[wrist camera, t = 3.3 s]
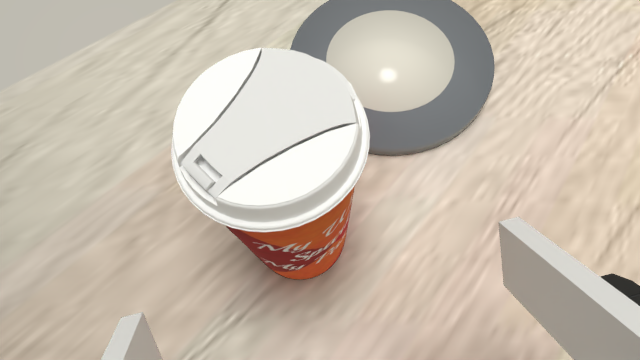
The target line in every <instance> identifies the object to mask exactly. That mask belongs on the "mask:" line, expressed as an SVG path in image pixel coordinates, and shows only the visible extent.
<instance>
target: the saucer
mask: <svg viewBox="0 0 640 360" xmlns="http://www.w3.org/2000/svg"><path fill="white" fill-rule="evenodd" d="M290 50H294V51H298V52H302V53H305V54H308V55H310V56H312V57H314V58H316V59H320V60H322V61H324V62H326V63H328V64H329V65H331V66H332V67H334V68H335V69H336V70H338V71H339V72H340V73H341V74H342V75H343V76H344V77H345V78H346V79H347V81H349V82H350V83H351V84H352V87H353V89H354V91H355V93H356V95H357V97H358V99H359V101H360V102H361V104H362V106H363V108H364V111H365V114H366V117H367V119H368V125H369V132H370V141H369V152H368V153H371V154H377V155H392V156H394V155H408V154H413V153H419V152H423V151H426V150H429V149H432V148H435V147H438V146H440V145H442V144H444V143H446V142H448V141H450V140H451V139H453V138H454V137H456V136H458V135H459V134H460V133H461V132H462V131H464V130H465V129H466V128H467V127H468V126H469V125H470V124H471V123H472V122H473V121H474V119H475V118H476V117H477V115H478V114H479V112H480V111H481V109H482V107H483V105H484V103H485V101H486V99H487V97H488V94H489V92H490V90H491V86H492V82H493V78H494V57H493V53H492V49H491V45H490V43H489V41H488V38H487V36H486V34H485V33H484V31H483V30H482V28H481V26H480V25H479V24H478V23H477V22H476V20H475V19H474V18H473V17H472V16H471V15H470V14H469V13H468V12H467V11H465V10H464V9H463V8H462V7H460V6H459V5H457V4H456V3H454V2H453V1H451V0H329V1H327V2H326V3H324V4H323V5H321V6H320V7H319V8H317V9H316V10H315V11H314V12H313V13H312V14H311V15H310V16H309V17H308V18H307V19H306V20H305V21H304V22H303V24H302V25H301V27H300V28H299V30H298V31H297V34H296V36H295V38H294V40H293V43H292V46H291V49H290Z"/></svg>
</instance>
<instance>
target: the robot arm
mask: <svg viewBox="0 0 640 360" xmlns="http://www.w3.org/2000/svg"><path fill="white" fill-rule="evenodd" d="M499 234H500V246H501V258H502V270H503V282H504V286H505V287H506V288H507V289H508V290H509V291H510V292H511V293H512V294H513V296H514V297H515V298H516V299H517V300H518V301H519V302H520V303H521V304H522V305H523V306H524V307H525V308H526V309H527V310H528V311H529V313H530V314H531V315H532V316H533V317H534V318H535V319H536V320H537V321H538V322H539V323H540V324H541V325H542V326H543V327H544V328H545V330H546V331H547V332H548V333H549V334H550V335H551V336H552V337H553V338H554V339H555V340H556V341H557V342H558V343H559V344H560V345H561V347H562V348H563V349H564V350H565V351H566V352H567V353H568V354H569V355H570V356H571V357H572V358H573V359H574V360H640V286H639V285H637V284H636V283H634V282H633V281H631V280H628V279H626V278H623V277H620V276H618V275H615V274H609V275H605V276H601V277H600V276H598V275H597V274H595V273H594V272H593V271H591V270H590V269H589V268H587V267H586V266H585V265H583V264H582V263H581V262H579V261H578V260H576V259H575V258H574V257H572V256H571V255H570V254H568V253H567V252H566V251H564V250H563V249H562V248H560V247H559V246H557V245H556V244H555V243H553V242H552V241H551V240H549V239H548V238H547V237H545V236H544V235H543V234H541V233H540V232H538V231H537V230H536V229H534V228H533V227H532V226H530V225H529V224H528V223H526V222H525V221H524V220H522V219H521V218H519V217H515V218H511V219H507V220H504V221H500V222H499ZM101 360H163V359H162V357H161V354H160V352H159V350H158V347H157V345H156V342H155V340H154V338H153V335H152V333H151V330H150V328H149V326H148V323H147V321H146V318H145V316H144V314H143V312H141V313H137V314H133V315H129V316H125V317H121V319H120V321H119V323H118V325H117V327H116V329H115V332H114V334H113V336H112V338H111V340H110V342H109V344H108V346H107V348H106V350H105V352H104V354H103V356H102V359H101Z"/></svg>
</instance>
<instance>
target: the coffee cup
mask: <svg viewBox="0 0 640 360" xmlns="http://www.w3.org/2000/svg"><path fill="white" fill-rule="evenodd" d="M172 138H173V139H172V151H171V155H172V164H173V169H174V172H175V175H176V179H177V181H178V183H179V185H180V187H181V189H182V191H183V193H184V194H185V195H186V196H187V198H188V199H189V200H190V201H191V203H192V204H193V205H194V206H195V207H196V208H198V209H199V210H200V211H201V212H202V213H203V214H205V215H206V216H208V217H210V218H211V219H213V220H215V221H216V222H218V223H221V224H223V225H226V226H227V228H228V229H229V230H230V231H231V232H232V233H233V234H235V235H236V236H237V237H238V238H239V239H240V240H241V241H242V242H243V243H244V244H245V245H246V246H247V247H248V248H249V249H250V250H251V251H252V252H253V253H254V254H255V255H256V256H257V257H258V258H259V259H260V260H261V261H262V262H264V263H265V264H266V265H267V266H268V267H269V268H270V269H272V270H273V271H275V272H276V273H278V274H279V275H282V276H284V277H287V278H291V279H309V278H313V277H316V276H318V275H320V274H322V273H324V272H325V271H327V270H328V269H329V268H330V267H331V266H332V265H333V264H334V263H335V262H336V260H337V259H338V257H339V255H340V253H341V251H342V248H343V246H344V242H345V238H346V232H347V227H348V222H349V216H350V210H351V205H352V199H353V193H354V187H355V184H356V182H357V181H358V179H359V178H360V176H361V174H362V171H363V169H364V166H365V164H366V161H367V156H368V152H369V141H370V132H369V125H368V119H367V117H366V114H365V111H364V108H363V106H362V104H361V102H360V101H359V99H358V97H357V95H356V93H355V91H354V89H353V87H352V84H351V83H350V82H349V81H347V79H346V78H345V77H344V76H343V75H342V74H341V73H340V72H339V71H338V70H336V69H335V68H334V67H332V66H331V65H329V64H328V63H326V62H324V61H322V60H320V59H316V58H314V57H312V56H310V55H308V54H305V53H302V52H298V51H294V50H286V49H275V48H255V49H251V50H247V51H242V52H240V53H237V54H234V55H231V56H229V57H227V58H225V59H223V60H221V61H219V62H217V63H216V64H214V65H213V66H211V67H210V68H208V69H207V70H206V71H205V72H203V73H202V74H201V75H200V76H199V77H198V78H197V79H196V80H195V81H194V82H193V84H192V85H191V86H190V87H189V88H188V90H187V91H186V93H185V95H184V96H183V98H182V100H181V102H180V104H179V107H178V109H177V111H176V115H175V119H174V123H173V136H172Z"/></svg>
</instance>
